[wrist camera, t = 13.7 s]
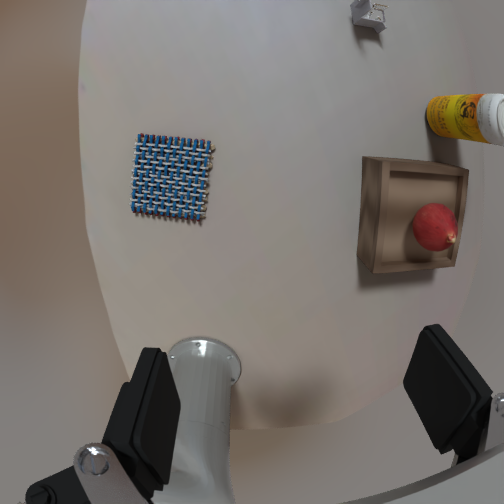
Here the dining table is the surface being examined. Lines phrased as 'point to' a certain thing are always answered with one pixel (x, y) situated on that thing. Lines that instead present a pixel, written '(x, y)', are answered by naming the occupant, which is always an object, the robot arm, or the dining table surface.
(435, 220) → the pomegranate
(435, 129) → the beer can
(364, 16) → the architectural model
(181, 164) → the woven mat
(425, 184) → the walnut tray
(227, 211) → the dining table surface
